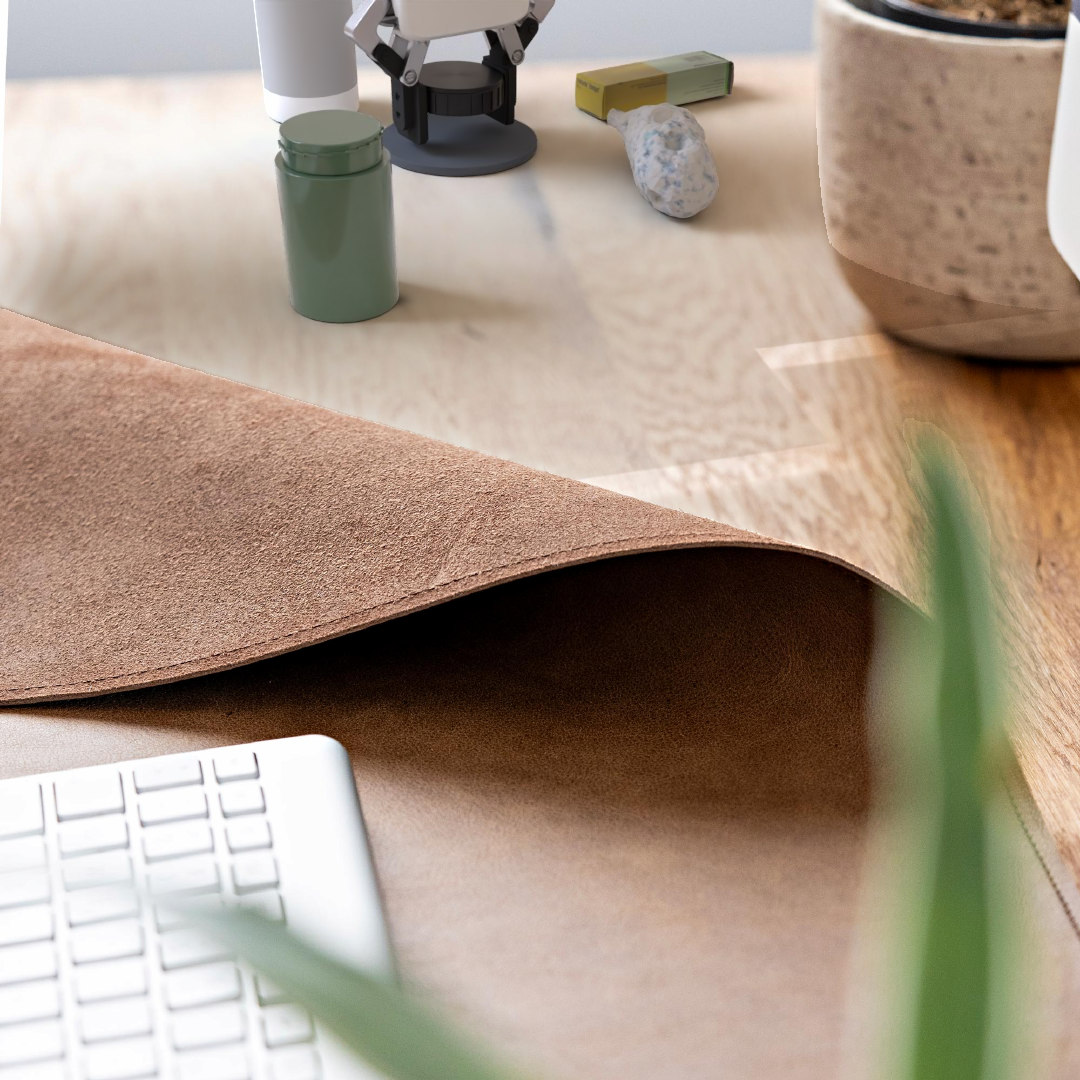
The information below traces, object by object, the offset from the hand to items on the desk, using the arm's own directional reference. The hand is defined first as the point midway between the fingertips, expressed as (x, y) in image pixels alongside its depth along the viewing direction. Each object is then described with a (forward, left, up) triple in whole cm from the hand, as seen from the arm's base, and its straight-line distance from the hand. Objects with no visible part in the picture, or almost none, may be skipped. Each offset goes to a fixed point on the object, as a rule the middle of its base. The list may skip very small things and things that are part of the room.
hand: (455, 126), depth 89 cm
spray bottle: (-9, +9, -2) cm, 13 cm away
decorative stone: (+12, -10, -2) cm, 16 cm away
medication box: (+17, +3, 0) cm, 18 cm away
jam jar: (-11, -21, -1) cm, 24 cm away
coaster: (0, 0, -1) cm, 1 cm away
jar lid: (0, 0, +3) cm, 3 cm away
